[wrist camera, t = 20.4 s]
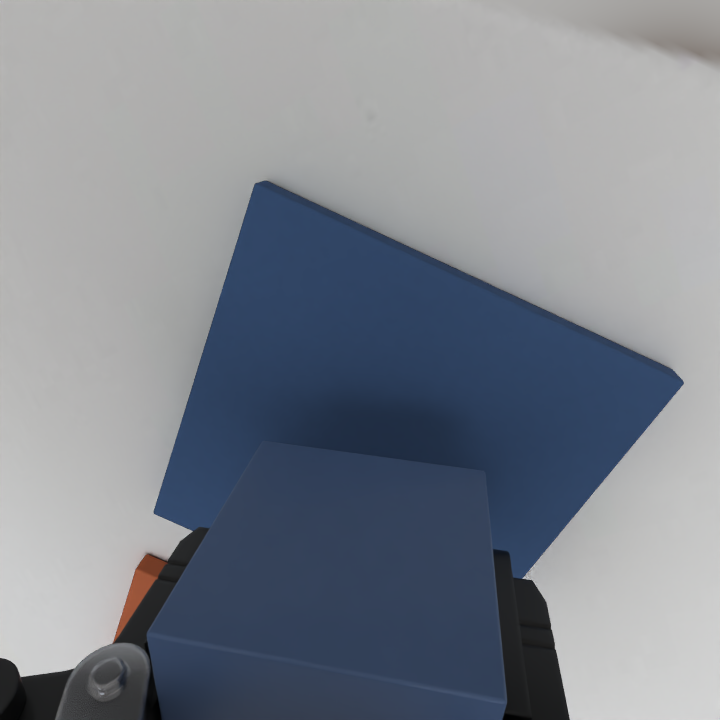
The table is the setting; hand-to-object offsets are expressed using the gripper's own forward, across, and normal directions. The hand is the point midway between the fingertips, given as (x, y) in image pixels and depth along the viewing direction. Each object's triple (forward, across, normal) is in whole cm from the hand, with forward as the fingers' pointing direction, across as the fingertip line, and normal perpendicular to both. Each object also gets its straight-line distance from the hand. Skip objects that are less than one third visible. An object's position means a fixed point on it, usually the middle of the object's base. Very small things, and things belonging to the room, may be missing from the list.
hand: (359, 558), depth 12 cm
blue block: (+1, 0, 0) cm, 1 cm away
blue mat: (+5, 0, 0) cm, 5 cm away
